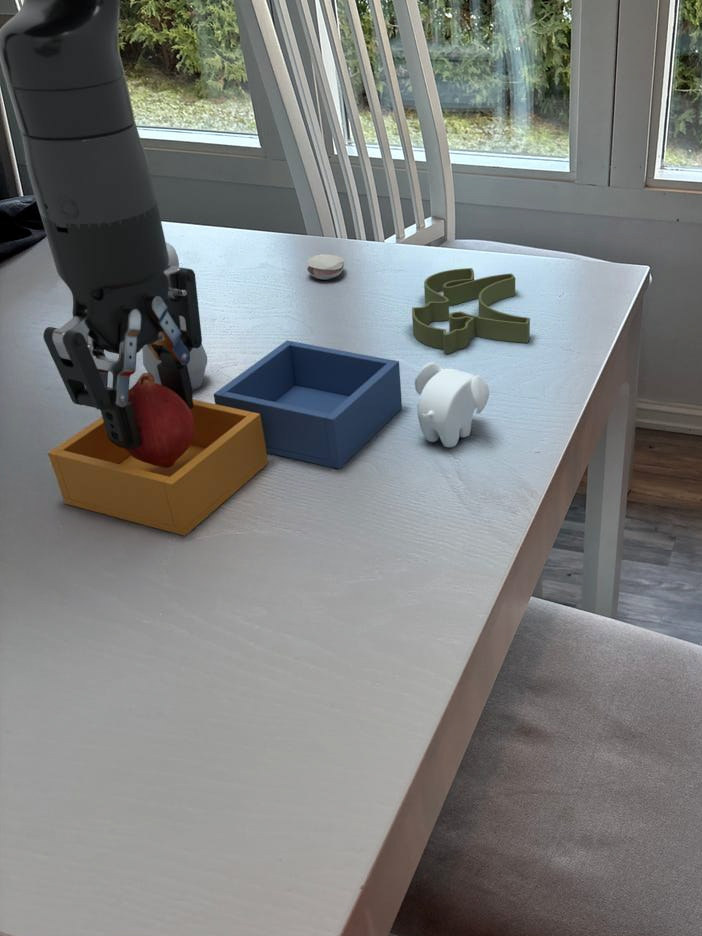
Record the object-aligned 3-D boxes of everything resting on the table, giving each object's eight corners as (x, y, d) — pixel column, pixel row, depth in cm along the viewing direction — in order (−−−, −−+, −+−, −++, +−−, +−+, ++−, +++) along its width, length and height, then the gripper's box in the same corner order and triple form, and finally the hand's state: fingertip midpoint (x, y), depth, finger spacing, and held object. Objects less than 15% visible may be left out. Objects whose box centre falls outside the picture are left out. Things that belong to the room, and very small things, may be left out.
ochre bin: (64, 503, 76) (46, 452, 73) (156, 436, 84) (143, 388, 81) (185, 536, 72) (171, 484, 69) (269, 463, 80) (260, 413, 77)
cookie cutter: (533, 350, 97) (534, 331, 95) (415, 355, 96) (414, 336, 95) (513, 284, 110) (513, 266, 109) (409, 288, 109) (408, 270, 108)
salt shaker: (143, 378, 92) (108, 240, 84) (202, 366, 94) (173, 229, 86) (157, 403, 88) (122, 261, 80) (218, 390, 90) (190, 250, 82)
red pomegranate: (144, 493, 74) (118, 399, 69) (117, 462, 78) (91, 370, 72) (214, 470, 77) (194, 377, 71) (185, 441, 80) (164, 351, 75)
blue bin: (222, 442, 83) (212, 393, 80) (293, 386, 91) (286, 339, 88) (339, 469, 79) (333, 419, 76) (402, 408, 88) (399, 360, 84)
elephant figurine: (508, 426, 85) (509, 363, 81) (457, 466, 80) (455, 400, 76) (445, 407, 88) (443, 345, 84) (392, 444, 83) (388, 379, 79)
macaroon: (301, 278, 112) (298, 256, 110) (331, 265, 115) (328, 244, 113) (327, 286, 110) (325, 264, 108) (357, 273, 113) (355, 251, 111)
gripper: (122, 166, 70) (172, 380, 81) (-27, 227, 60) (53, 461, 71) (208, 177, 68) (247, 396, 79) (67, 242, 58) (135, 482, 69)
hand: (155, 426), depth 75 cm, fingers closed on red pomegranate, 6 cm apart
